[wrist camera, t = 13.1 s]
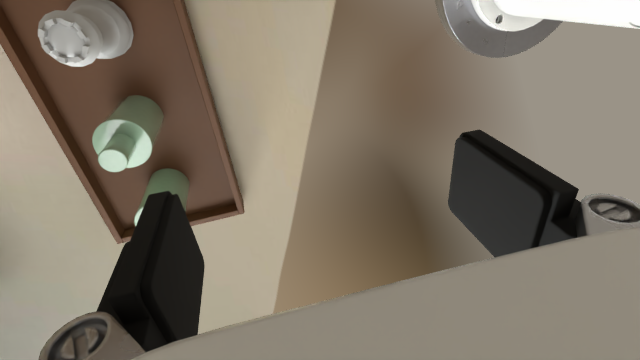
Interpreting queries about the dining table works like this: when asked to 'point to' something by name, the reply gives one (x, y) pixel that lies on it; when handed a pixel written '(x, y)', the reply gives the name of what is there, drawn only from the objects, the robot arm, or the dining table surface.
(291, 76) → the dining table surface
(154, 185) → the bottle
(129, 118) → the bottle mid
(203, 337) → the robot arm
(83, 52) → the rook chess piece
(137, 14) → the tray
